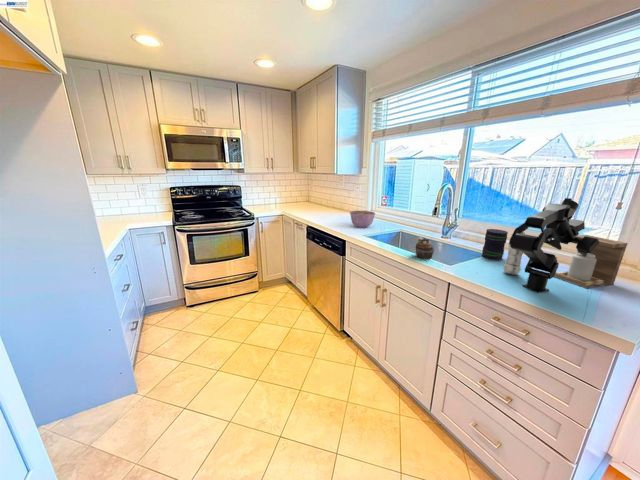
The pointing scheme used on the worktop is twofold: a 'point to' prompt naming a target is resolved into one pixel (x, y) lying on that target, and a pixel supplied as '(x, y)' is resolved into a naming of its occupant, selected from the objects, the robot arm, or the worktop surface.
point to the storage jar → (494, 244)
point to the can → (582, 267)
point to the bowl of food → (362, 218)
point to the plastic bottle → (513, 261)
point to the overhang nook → (600, 264)
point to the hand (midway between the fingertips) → (572, 252)
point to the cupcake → (424, 249)
